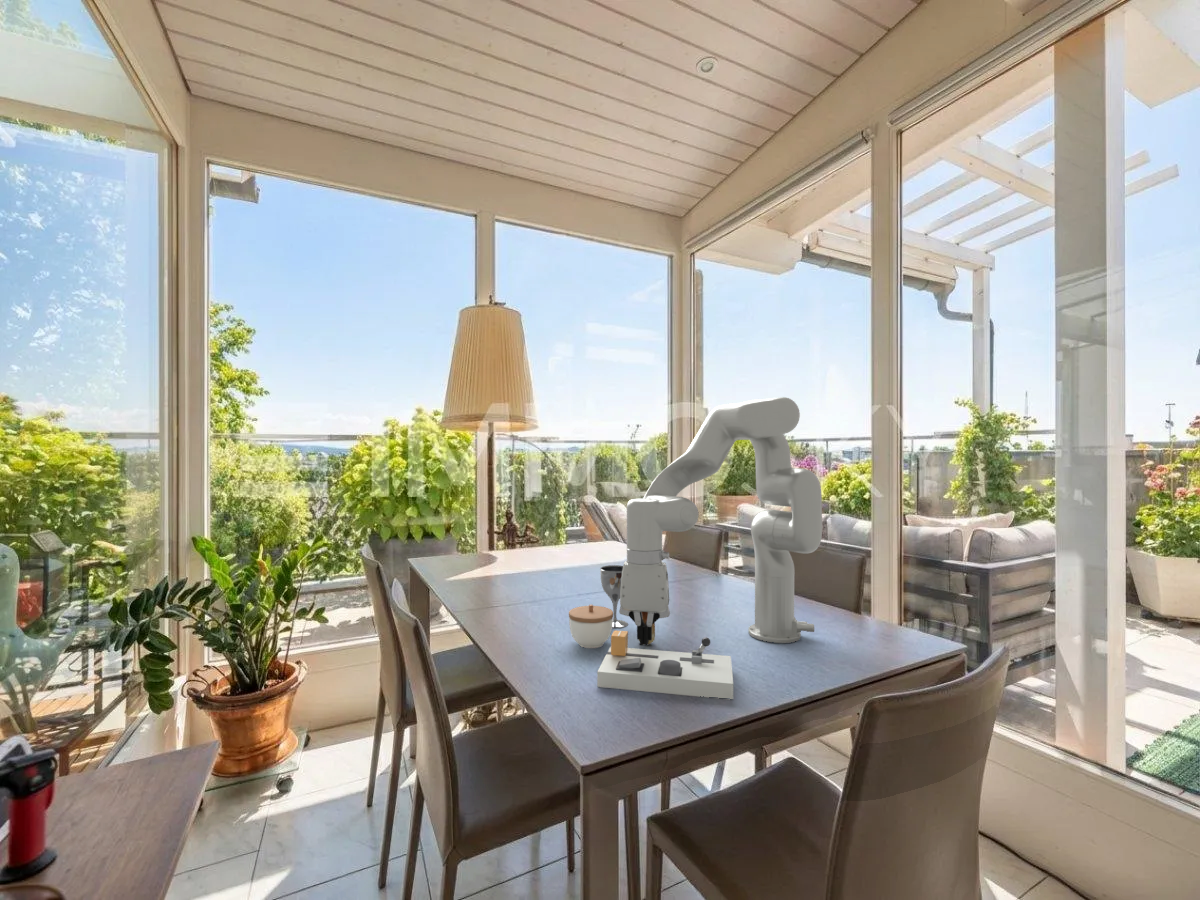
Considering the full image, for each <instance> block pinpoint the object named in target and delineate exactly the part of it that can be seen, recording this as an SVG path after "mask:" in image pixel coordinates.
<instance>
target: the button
mask: <svg viewBox="0 0 1200 900" xmlns="http://www.w3.org/2000/svg"><path fill="white" fill-rule="evenodd" d="M660 675H670V676H680V663H679V662H678V661H675V660H663V661H661V662H660Z"/></svg>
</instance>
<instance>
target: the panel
mask: <svg viewBox="0 0 1200 900" xmlns="http://www.w3.org/2000/svg"><path fill="white" fill-rule="evenodd" d="M697 651H698V649H697V650H695V649H692V651H691V652H685V651H684V652H681V651H668V650H659V649H658V650H657V649H644V648H632V647H628V650H627V653H626V655H625V656H620V655H611V646H609V648H608V650H607V652H606V655H605V656H604V658H603V660H602V662H601V663H600V666H599V668H598V670H597V672H596V673H597V675H596V676H597V677H596V679H597V682H596V683H597V688H606V689H616V690H626V691H637V692H649V693H659V694H668V695H676V696H677V695H678V696H687V697H688V696H690V697H698V698H699V697H700V696H701V697H700V698H709V697H718V698H717V699H719V698H730V699H733V700H734V678H733V677H734V675H733V667H732V666H733V665H732V656H731V655H719V654H708V653H702V654H701V656H695V654H696V652H697ZM663 660H675V661H678V662H679V663H680V676H670V675H660V662H661V661H663ZM703 696H704V697H703ZM730 699H729V700H730Z"/></svg>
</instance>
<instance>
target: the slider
mask: <svg viewBox="0 0 1200 900" xmlns="http://www.w3.org/2000/svg"><path fill="white" fill-rule="evenodd" d="M628 633H629V631H627V630H615V629H614V630H613V631H612V632H611V634H610V647H611V655H620V656H625V655H626V653H627V650H628V648H629V647H628V646H629V642H628V641H629V636H628V635H629V634H628Z"/></svg>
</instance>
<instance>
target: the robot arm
mask: <svg viewBox="0 0 1200 900" xmlns="http://www.w3.org/2000/svg"><path fill="white" fill-rule="evenodd" d="M800 417H801V413H800V408H799V405H797V403H796V401H794V400H793V399H791V398H789V397H785V396H782V397H772V398H761V399H759V398H758V399H752V400H751V399H750V400H746V401H742V402H736V403H726V404H720V405H717V406H715V407H713V408H712V409H711V410H710V411H709V413H708V414H707V416H706V417H705V419H704V421H703V422H702V424H701V426H700V428H699V429H698V431H697V433H696V435H695V436H694V438H693V439H692V441H691V443H690V444H689V446H688V448H687V449H686V451H685V452H683V454H682V455H680V456H679V457H677V458H676V459H675V460H673V461H672V462H671V463H670V464H668V465H667V466H666V467H665V468H664V469H663V470H661V471H660V473H658V474H657V476H656V477H655V478H654V479H653V481H652V482H651V483H650V486H649V488H648V489H647V490H646V492H645V494H644V496H643V497H642V498H641V497H640V498H639V497H637V498H632V499H630V500H628V502H627V504H626V560H625V561H624V562H623V564H622V566H623V570H622V577H621V590H620V599H619V603H620V604H619V605H620V607H619V610H618V614H620V615H622V616H626V617H628V618H630V619H631V620H632V622H634V623H635V626H636V640H637V641H639V640H640V641H639V646H643V645H644V646H647V647H648V645H649V644H648V643H649V640H652V624H654V623H656V622H657V621H658V620H659V619H664V618H668V617H670V614H671V611H670V607H669V604H670V588H669V587H670V586H669V584H670V583H669V573H668V569H667V568H668V567H667V563H666V562H664V560H666V559H670V552H669V551H665V550H664V549H663V532H675V533H682V532H686V531H687V532H688V531H689V530H691V529H692V528H694V526H696V524H697V522H698V519H699V518H700V517H699V516H700V515H699V509H698V507H697V505H696V504H695V503H694V501H692V500H691V499H689V498H687V497H684V496H678V495H679V494H680V493H681V492H682V491H683V490H684V489H685V488H687V487H688V486H690V485H693V484H694V483H697V482H699V481H701V480H704V479H707V478H709V477H711V476H713V475H714V474H717V473H718V472H719V470H720V469H721V468H722V465H723V463H724V461H725V459H726V458H727V456H728V454H729V452H730V451H731V449H732V447H733V446H734V444H735V442H736V441H740V440H741V441H742V440H743V441H744V440H745V441H747V440H749V442H750V443H751V445H752V447H753V451H754V459H755V460H754V461H755V488H756V495H757V498H758V499H759V501H761V502H762V503H764V504H765V505H770V506H771V505H772V506H779V507H789V508H790V509H791V511H787V510H778V509H777V510H776V509H767V510H766V509H764V510H762V511H759V512H758V513H757V514H756V515H754V517H753V518H752V520H751V522H750V523H751V524H750V534H751V538H752V543H753V549H754V550H753V552H754V623H753V624H751V625H749V627H748V634H749V635H750V636H751V637H753V638H754V639H756V640H759V641H762V640H763V642H766V641H767V642H766V643H772V642H774V643H775V644H790V643H791V642H792V643H795V641H796V642H798V641H799V639H800V640H801V635H802V634H801V633H802V632H810V633H814V632H815V624H814V623H808V621H798V619H796V617H795V564H794V560H793V557H792V555H791V552H792V553H798V554H803V555H804V554H811V553H814V552H815V551H817V549H818V548H819V547H820V545H821V542H822V536H823V503H822V501H823V499H822V488H821V484H820V480H819V478H818V477H817V475H816V474H815V473H814V472H813V471H811V470H809V469H807V468H801V467H799V468H798V467H797V468H796V467H792V462H791V461H792V460H791V450H790V445H789V442H788V440H787V438H786V437H785V435H786V434H788V433H790V432H792V431H793V430H795V428H796V427H797V426H798V424H799V421H800ZM642 612H648V617H647V621H646V623H644V620H643V619H642Z"/></svg>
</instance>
